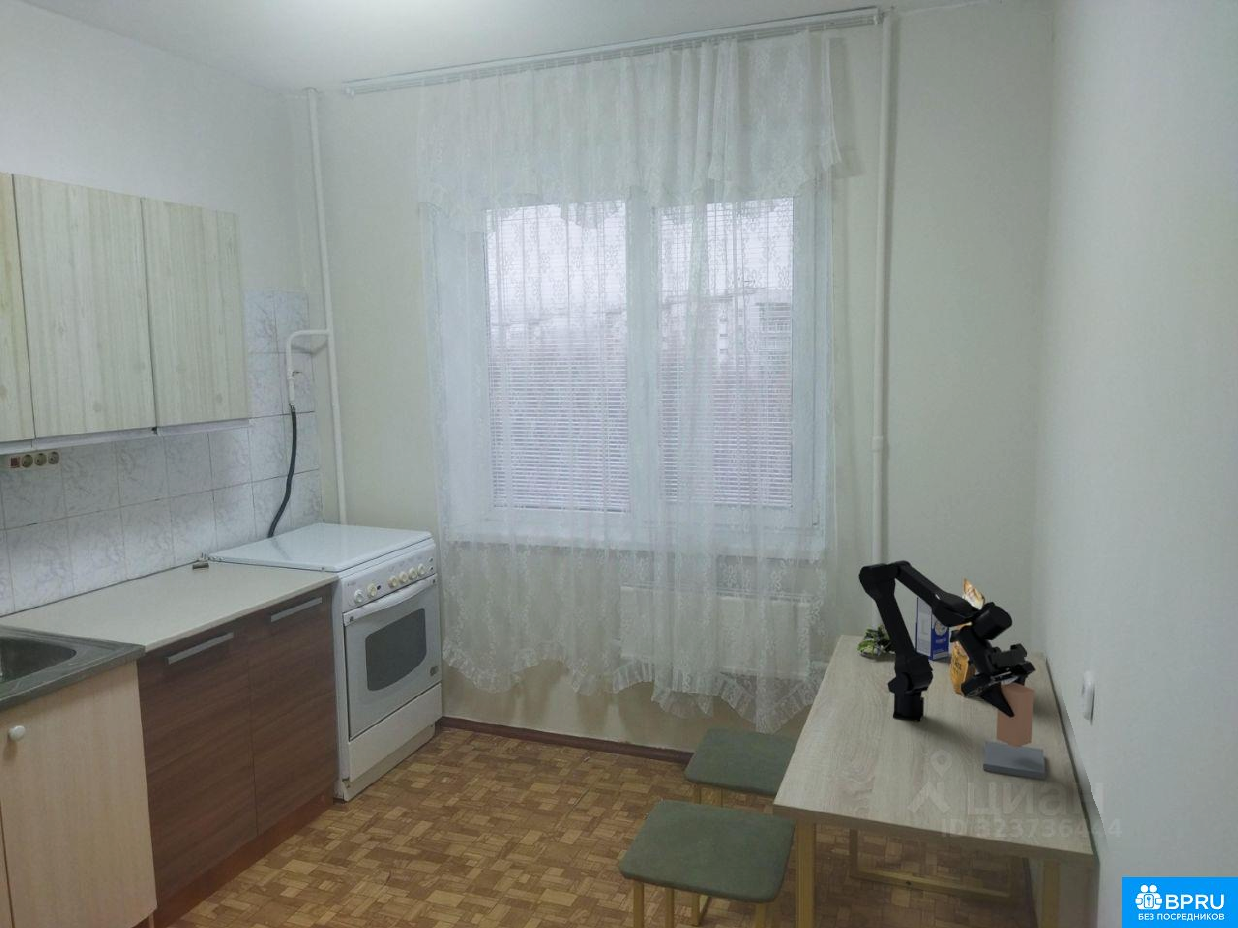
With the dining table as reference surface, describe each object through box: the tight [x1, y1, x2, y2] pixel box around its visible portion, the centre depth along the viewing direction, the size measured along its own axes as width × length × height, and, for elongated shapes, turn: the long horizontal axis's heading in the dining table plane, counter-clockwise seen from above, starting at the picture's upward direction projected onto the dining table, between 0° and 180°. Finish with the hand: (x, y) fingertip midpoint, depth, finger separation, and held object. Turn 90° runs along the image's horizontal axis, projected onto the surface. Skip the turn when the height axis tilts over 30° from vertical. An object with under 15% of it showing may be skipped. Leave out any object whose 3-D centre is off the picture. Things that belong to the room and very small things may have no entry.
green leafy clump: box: [856, 624, 894, 661], centre depth 258 cm, size 11×11×12 cm
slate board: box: [982, 740, 1046, 781], centre depth 189 cm, size 12×12×2 cm
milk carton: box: [914, 591, 951, 662], centre depth 257 cm, size 7×7×20 cm
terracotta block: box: [996, 682, 1035, 748], centre depth 188 cm, size 5×5×12 cm
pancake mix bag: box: [949, 577, 986, 697], centre depth 232 cm, size 7×19×28 cm, turn 165°
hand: (1020, 714), depth 187 cm, fingers closed on terracotta block, 5 cm apart
